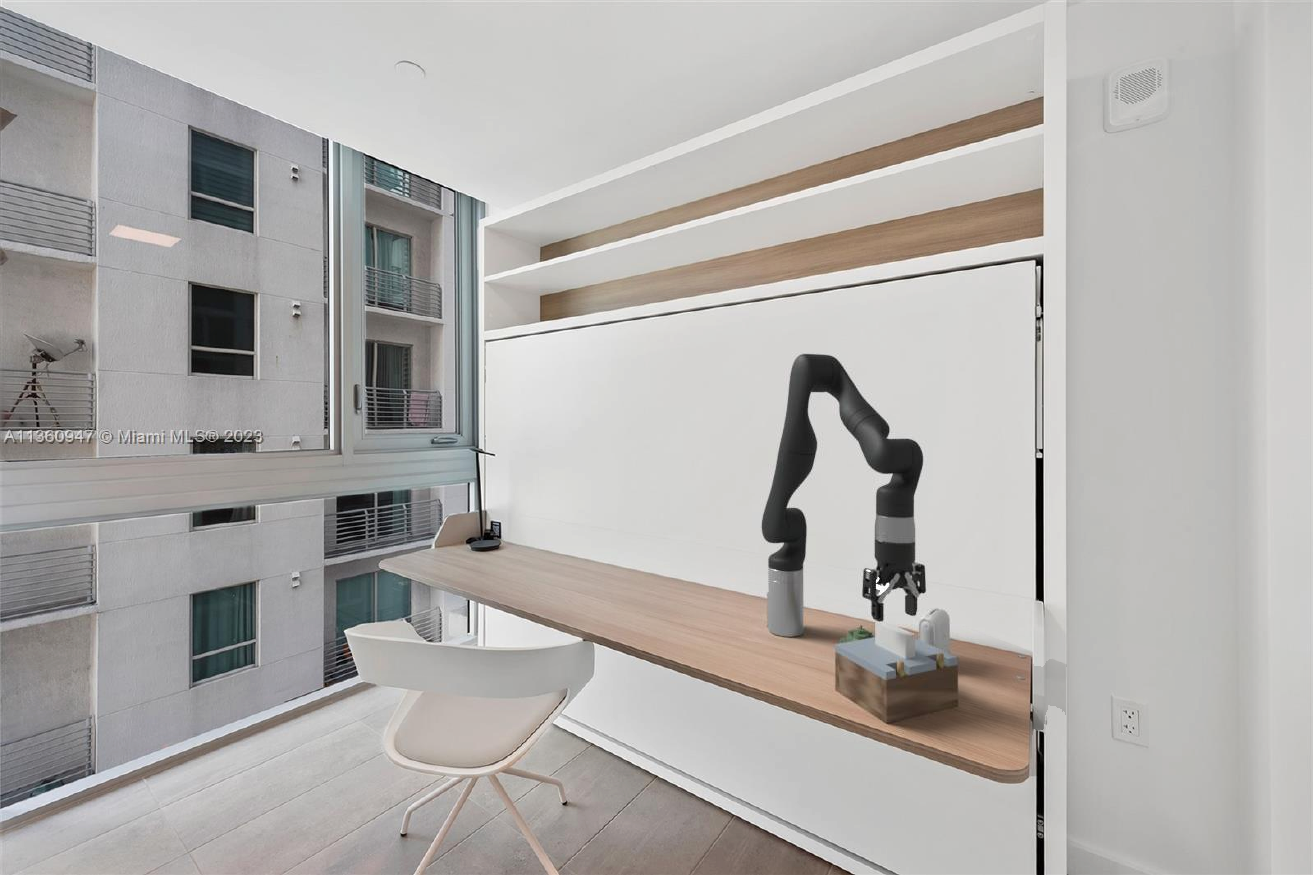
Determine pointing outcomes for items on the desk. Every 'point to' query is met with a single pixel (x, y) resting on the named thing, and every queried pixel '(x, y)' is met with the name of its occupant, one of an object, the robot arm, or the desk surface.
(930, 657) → the notched blue lid
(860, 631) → the decorative artifact
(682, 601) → the desk surface
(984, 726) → the desk surface
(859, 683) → the wooden box with compartments
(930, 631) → the photo printer
